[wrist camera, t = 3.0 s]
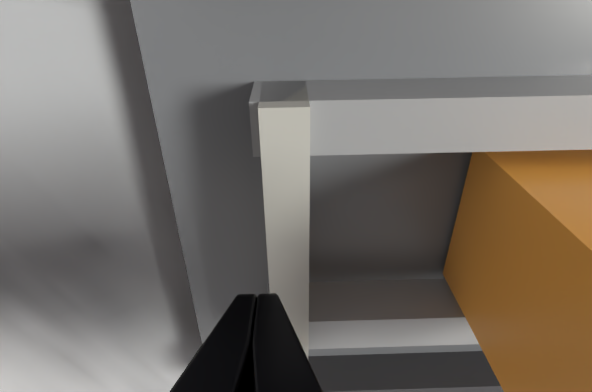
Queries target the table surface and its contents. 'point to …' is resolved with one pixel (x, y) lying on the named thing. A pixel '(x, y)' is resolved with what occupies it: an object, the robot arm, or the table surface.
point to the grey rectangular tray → (350, 147)
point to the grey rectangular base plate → (406, 372)
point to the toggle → (527, 266)
